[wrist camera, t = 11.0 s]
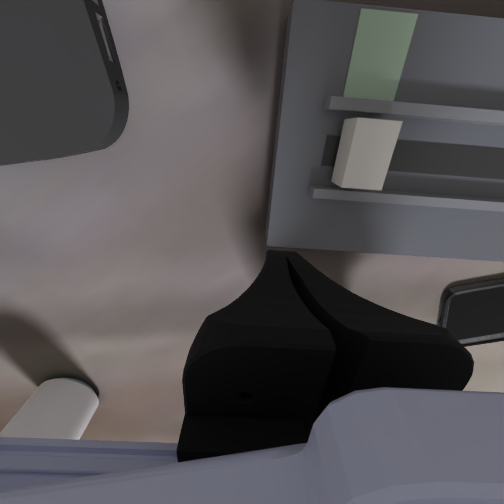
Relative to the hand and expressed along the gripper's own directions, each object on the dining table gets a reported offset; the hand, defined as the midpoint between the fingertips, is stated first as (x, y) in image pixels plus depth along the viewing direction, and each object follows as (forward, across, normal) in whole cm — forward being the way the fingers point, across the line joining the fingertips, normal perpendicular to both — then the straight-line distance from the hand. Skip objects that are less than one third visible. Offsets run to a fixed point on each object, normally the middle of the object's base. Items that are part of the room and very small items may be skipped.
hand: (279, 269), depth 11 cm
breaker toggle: (+7, -5, -5) cm, 10 cm away
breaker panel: (+9, -11, -5) cm, 15 cm away
